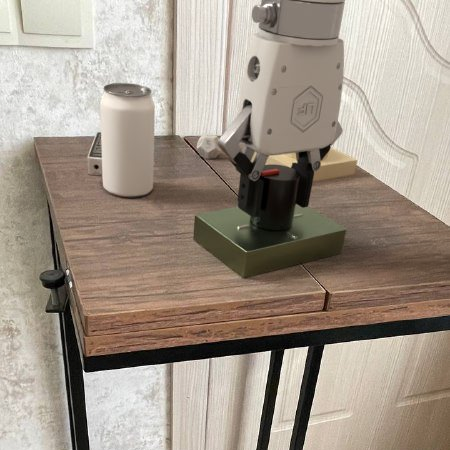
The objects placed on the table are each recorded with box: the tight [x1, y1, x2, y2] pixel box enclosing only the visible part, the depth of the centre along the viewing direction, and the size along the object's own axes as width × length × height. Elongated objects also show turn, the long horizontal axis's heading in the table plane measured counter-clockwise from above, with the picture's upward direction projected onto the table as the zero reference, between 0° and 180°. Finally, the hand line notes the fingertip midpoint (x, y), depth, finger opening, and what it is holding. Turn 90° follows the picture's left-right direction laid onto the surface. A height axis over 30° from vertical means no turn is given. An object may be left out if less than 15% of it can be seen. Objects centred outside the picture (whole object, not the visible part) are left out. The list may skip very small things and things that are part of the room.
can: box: [99, 82, 156, 199], centre depth 78 cm, size 6×6×12 cm
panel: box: [193, 204, 347, 279], centre depth 71 cm, size 14×10×3 cm
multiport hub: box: [86, 131, 103, 177], centre depth 88 cm, size 4×11×2 cm, turn 2°
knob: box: [250, 164, 300, 230], centre depth 68 cm, size 5×5×6 cm
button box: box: [251, 146, 358, 182], centre depth 93 cm, size 12×10×4 cm
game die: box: [196, 133, 222, 160], centre depth 93 cm, size 4×4×3 cm
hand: (273, 206), depth 69 cm, fingers open, 6 cm apart
